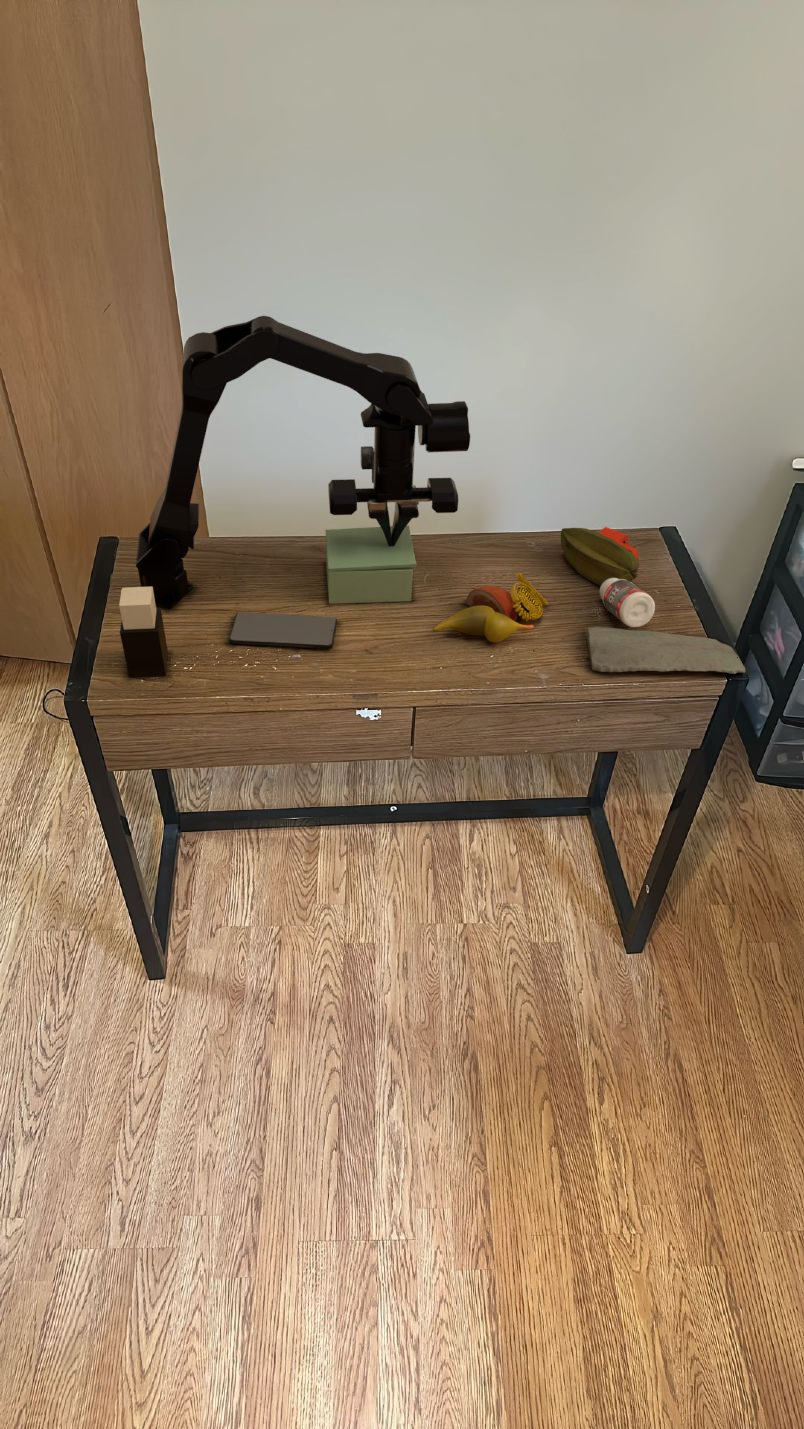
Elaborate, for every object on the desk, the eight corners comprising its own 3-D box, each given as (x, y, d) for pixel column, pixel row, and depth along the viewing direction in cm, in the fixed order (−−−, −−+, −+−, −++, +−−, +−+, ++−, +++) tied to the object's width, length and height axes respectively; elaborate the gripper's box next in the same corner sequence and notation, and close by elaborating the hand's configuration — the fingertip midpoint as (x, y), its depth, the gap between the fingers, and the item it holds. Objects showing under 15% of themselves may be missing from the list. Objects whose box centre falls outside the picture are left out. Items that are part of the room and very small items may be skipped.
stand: (129, 677, 133) (119, 632, 128) (132, 654, 137) (123, 609, 131) (166, 676, 134) (158, 630, 128) (168, 653, 137) (160, 608, 132)
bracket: (573, 527, 158) (588, 515, 161) (570, 547, 161) (584, 535, 164) (637, 553, 154) (651, 539, 157) (632, 573, 156) (646, 559, 159)
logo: (548, 602, 149) (537, 628, 143) (544, 605, 149) (533, 631, 143) (519, 571, 147) (507, 596, 141) (516, 574, 148) (504, 599, 142)
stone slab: (580, 637, 145) (591, 673, 137) (584, 621, 143) (595, 656, 135) (727, 645, 146) (746, 682, 138) (732, 629, 144) (752, 665, 136)
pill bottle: (616, 607, 140) (589, 586, 148) (630, 635, 142) (603, 613, 151) (647, 586, 140) (619, 566, 148) (661, 614, 142) (632, 593, 151)
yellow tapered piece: (523, 622, 146) (535, 645, 141) (426, 628, 144) (435, 651, 139) (526, 597, 144) (539, 619, 139) (428, 602, 141) (437, 625, 136)
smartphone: (236, 611, 144) (337, 616, 143) (237, 616, 144) (337, 621, 144) (228, 640, 139) (332, 645, 138) (228, 645, 139) (332, 650, 139)
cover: (408, 528, 152) (409, 525, 152) (416, 567, 144) (416, 563, 144) (325, 532, 151) (325, 529, 151) (328, 572, 143) (328, 568, 143)
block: (123, 629, 128) (118, 605, 126) (126, 611, 131) (121, 587, 128) (154, 628, 129) (150, 604, 126) (156, 610, 132) (152, 586, 129)
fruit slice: (489, 583, 151) (472, 610, 151) (473, 568, 145) (455, 596, 145) (531, 607, 147) (513, 635, 147) (517, 593, 141) (498, 622, 141)
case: (404, 562, 156) (405, 531, 152) (411, 601, 149) (412, 570, 145) (326, 564, 155) (325, 533, 151) (329, 603, 147) (328, 572, 143)
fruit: (597, 594, 160) (572, 603, 156) (575, 525, 159) (549, 532, 155) (652, 577, 151) (626, 585, 147) (629, 503, 150) (602, 510, 146)
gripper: (451, 424, 144) (444, 515, 154) (326, 425, 142) (327, 518, 152) (462, 461, 135) (454, 555, 146) (329, 463, 134) (330, 558, 144)
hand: (391, 545), depth 147 cm, fingers closed, pressing on cover
